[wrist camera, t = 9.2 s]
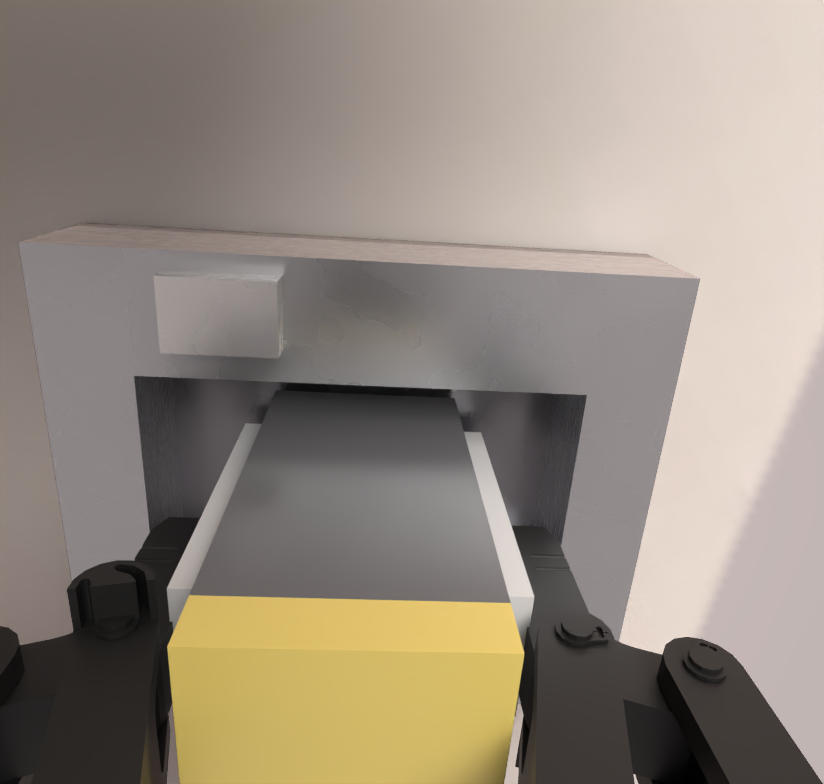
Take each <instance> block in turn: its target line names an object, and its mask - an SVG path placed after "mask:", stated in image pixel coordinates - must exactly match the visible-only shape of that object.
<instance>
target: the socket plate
mask: <svg viewBox="0 0 824 784" xmlns="http://www.w3.org/2000/svg"><path fill="white" fill-rule="evenodd" d="M18 245H19V251H20V258H21V264H22V270H23V277H24V283H25V289H26V295H27V302H28V308H29V314H30V321H31V327H32V333H33V340H34V346H35V352H36V359H37V365H38V371H39V377H40V384H41V390H42V396H43V403H44V409H45V415H46V422H47V428H48V434H49V441H50V447H51V453H52V459H53V466H54V472H55V478H56V485H57V491H58V497H59V504H60V510H61V516H62V523H63V529H64V535H65V541H66V548H67V554H68V560H69V567H70V573H71V579H72V581H73V579H75V578H76V577H77V576H79V575H80V574H81V573H83V572H84V571H85V570H87V569H90V568H92V567H94V566H97V565H99V564H102V563H107V562H111V561H116V560H133V561H135V557H136V555H137V553H138V552H139V550H140V549H142V545H143V543H144V542H145V540H146V538H147V536H148V535H149V533H150V531H151V530H152V529H153V528H155V527H156V526H157V525H159V524H160V523H161V522H163V521H164V520H165V519H167V518H168V517H187V518H201V516H202V514H203V511H204V509H205V507H206V505H207V503H208V501H209V499H210V497H211V495H212V493H213V490H214V488H215V486H216V484H217V482H218V480H219V478H220V476H221V474H222V472H223V469H224V467H225V465H226V463H227V461H228V459H229V457H230V455H231V453H232V451H233V448H234V446H235V444H236V442H237V440H238V438H239V436H240V434H241V432H242V430H243V428H244V425H245V423H252V424H262V422H263V420H264V417H265V415H266V413H267V410H268V408H269V406H270V403H271V401H272V399H273V396H274V394H275V392H276V390H278V391H301V392H324V393H347V394H370V395H393V396H416V397H439V398H455V401H456V405H457V409H458V412H459V416H460V419H461V423H462V427H463V430H464V432H481V434H482V437H483V440H484V443H485V446H486V449H487V452H488V455H489V458H490V462H491V465H492V468H493V471H494V474H495V477H496V480H497V483H498V486H499V489H500V492H501V495H502V498H503V502H504V505H505V508H506V511H507V514H508V517H509V520H510V523H511V526H543V527H544V528H545V529H547V530H548V531H549V532H550V533H551V534H552V535H553V536H554V537H555V538H556V539H557V540H558V541H559V543H560V546H561V548H562V550H563V553H564V555H565V558H566V560H567V562H568V564H569V567H570V571H572V574H573V576H574V578H575V581H576V583H577V586H578V588H579V590H580V593H581V595H582V597H583V600H584V602H585V604H586V607H587V609H588V611H589V613H590V614H592V615H594V616H595V617H597V618H599V619H600V620H602V621H603V622H604V623H605V624H606V625H607V626H608V627H609V628H610V629H611V631H612V634H613V636H614V639H615V640H616V641H618V642H619V638H620V634H621V629H622V625H623V620H624V616H625V611H626V607H627V602H628V598H629V594H630V589H631V585H632V580H633V576H634V571H635V567H636V562H637V558H638V553H639V549H640V545H641V540H642V536H643V531H644V527H645V522H646V518H647V513H648V509H649V504H650V500H651V496H652V491H653V487H654V482H655V478H656V473H657V469H658V464H659V460H660V455H661V451H662V447H663V442H664V438H665V433H666V429H667V424H668V420H669V415H670V411H671V406H672V402H673V398H674V393H675V389H676V384H677V380H678V375H679V371H680V366H681V362H682V357H683V353H684V349H685V344H686V340H687V335H688V331H689V326H690V322H691V317H692V313H693V308H694V304H695V300H696V295H697V291H698V286H699V282H700V278H697V277H695V276H693V275H691V274H689V273H687V272H684V271H682V270H680V269H678V268H676V267H673V266H671V265H669V264H667V263H665V262H663V261H660V260H658V259H656V258H654V257H652V256H649V255H647V254H631V253H613V252H595V251H577V250H559V249H541V248H523V247H505V246H487V245H469V244H451V243H433V242H415V241H398V240H380V239H362V238H344V237H326V236H308V235H290V234H272V233H254V232H236V231H218V230H200V229H182V228H164V227H146V226H129V225H111V224H93V223H81V224H77V225H74V226H71V227H67V228H64V229H61V230H57V231H54V232H50V233H47V234H44V235H40V236H37V237H34V238H30V239H27V240H23V241H20V242H18ZM518 704H521V702H520V698H519V697H518Z"/></svg>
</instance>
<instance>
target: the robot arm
mask: <svg viewBox="0 0 824 784" xmlns="http://www.w3.org/2000/svg"><path fill="white" fill-rule="evenodd" d="M261 425H262V424H252V423H245V425H244V428H243V430H242V432H241V434H240V436H239V438H238V440H237V442H236V444H235V446H234V448H233V451H232V453H231V455H230V457H229V459H228V461H227V463H226V465H225V467H224V469H223V472H222V474H221V476H220V478H219V480H218V482H217V484H216V486H215V488H214V490H213V493H212V495H211V497H210V499H209V501H208V503H207V505H206V507H205V509H204V511H203V514H202V516H201V518H187V517H168V518H167V519H165V520H164V521H163V522H161V523H160V524H159V525H157V526H156V527H155V528H153V529H152V530H151V531H150V533H149V535H148V536H147V538H146V540H145V542H144V543H143V545H142V549H140V550H139V552H138V553H137V555H136V557H135V561H133V560H116V561H111V562H107V563H102V564H99V565H97V566H94V567H92V568H90V569H87V570H85V571H84V572H83V573H81V574H80V575H79V576H77V577H76V578H75V579H73V581H72V583H71V584H70V586H69V587H68V589H67V592H68V599H69V605H70V611H71V617H72V623H73V629H74V631H73V633H71V634H68V635H65V636H62V637H58V638H55V639H50V640H45V641H40V642H35V643H30V644H26V645H21V646H20V645H19V640H18V636H17V634H16V633H15V632H13V631H12V630H11V629H9V628H6V627H1V626H0V784H167V770H168V756H169V742H170V726H169V716H168V713H169V710H170V707H171V704H172V693H171V682H170V671H169V661H168V650H167V646H168V644H169V641H170V639H171V637H172V634H173V632H174V630H175V627H176V625H177V623H178V620H179V618H180V615H181V613H182V611H183V608H184V606H185V604H186V601H187V599H188V597H189V594H190V592H191V590H192V587H193V585H194V582H195V580H196V578H197V575H198V573H199V571H200V568H201V566H202V564H203V561H204V559H205V557H206V554H207V552H208V549H209V547H210V545H211V542H212V540H213V538H214V535H215V533H216V531H217V528H218V526H219V524H220V521H221V519H222V516H223V514H224V512H225V509H226V507H227V505H228V502H229V500H230V498H231V495H232V493H233V491H234V488H235V486H236V483H237V481H238V479H239V476H240V474H241V472H242V469H243V467H244V465H245V462H246V460H247V458H248V455H249V453H250V450H251V448H252V446H253V443H254V441H255V439H256V436H257V434H258V432H259V429H260V427H261ZM464 434H465V438H466V441H467V445H468V449H469V452H470V456H471V460H472V463H473V467H474V471H475V474H476V478H477V482H478V485H479V489H480V493H481V496H482V500H483V504H484V507H485V511H486V515H487V518H488V522H489V526H490V529H491V533H492V536H493V540H494V544H495V547H496V551H497V555H498V558H499V562H500V566H501V569H502V573H503V577H504V580H505V584H506V588H507V591H508V595H509V599H510V602H511V606H512V610H513V613H514V617H515V621H516V624H517V628H518V632H519V635H520V639H521V643H522V646H523V650H524V653H525V654H524V661H523V667H522V673H521V679H520V686H519V692H518V697H519V698H520V702H521V706H522V710H523V714H524V717H523V723H522V729H521V735H520V741H519V747H518V753H517V759H516V765H515V767H519V776H518V784H634V776H633V774H636V778H637V781H638V783H639V784H823V783H822V782H821V781H820V779H819V778H818V776H817V775H816V773H815V772H814V770H813V769H812V767H811V766H810V764H809V763H808V761H807V760H806V758H805V757H804V756H803V754H802V753H801V751H800V750H799V748H798V747H797V745H796V744H795V742H794V741H793V739H792V738H791V736H790V735H789V734H788V732H787V731H786V729H785V728H784V726H783V725H782V723H781V722H780V720H779V719H778V717H777V716H776V714H775V713H774V712H773V710H772V709H771V707H770V706H769V704H768V703H767V701H766V700H765V698H764V697H763V695H762V694H761V693H760V691H759V689H758V688H757V687H756V685H755V684H754V682H753V681H752V679H751V678H750V676H749V675H748V674H747V672H746V670H745V669H744V668H743V666H742V665H741V664H740V663H739V662H738V661H737V659H736V658H734V656H733V655H732V654H730V653H729V652H727V651H726V650H724V649H723V648H721V647H720V646H718V645H715V644H713V643H710V642H708V641H705V640H702V639H697V638H691V637H683V638H677V639H673V640H672V641H670V642H669V643H667V644H666V646H665V649H664V652H663V655H661V654H657V653H653V652H649V651H645V650H641V649H637V648H634V647H631V646H628V645H625V644H622V643H620V642H618V641H616V640H615V639H614V636H613V634H612V631H611V629H610V628H609V627H608V626H607V625H606V624H605V623H604V622H603V621H602V620H600V619H599V618H597V617H595V616H594V615H592V614H590V613H589V611H588V609H587V607H586V604H585V602H584V600H583V597H582V595H581V593H580V590H579V588H578V586H577V583H576V581H575V578H574V576H573V574H572V571H570V567H569V564H568V562H567V560H566V558H565V555H564V553H563V550H562V548H561V546H560V543H559V541H558V540H557V539H556V538H555V537H554V536H553V535H552V534H551V533H550V532H549V531H548V530H547V529H545V528H544V527H543V526H511V523H510V520H509V517H508V514H507V511H506V508H505V505H504V502H503V498H502V495H501V492H500V489H499V486H498V483H497V480H496V477H495V474H494V471H493V468H492V465H491V462H490V458H489V455H488V452H487V449H486V446H485V443H484V440H483V437H482V434H481V432H464ZM517 704H518V698H517ZM517 704H516V710H517ZM515 716H516V711H515Z"/></svg>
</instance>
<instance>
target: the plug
mask: <svg viewBox="0 0 824 784" xmlns="http://www.w3.org/2000/svg"><path fill="white" fill-rule="evenodd" d="M167 650H168V661H169V671H170V682H171V693H172V704H173V715H174V726H175V737H176V747H177V758H178V769H179V780H180V784H504V779H505V773H506V767H507V761H508V754H509V748H510V742H511V736H512V729H513V723H514V717H515V711H516V704H517V698H518V692H519V686H520V679H521V673H522V667H523V661H524V654H525V653H524V650H523V646H522V643H521V639H520V635H519V632H518V628H517V624H516V621H515V617H514V613H513V610H512V606H511V602H510V599H509V595H508V591H507V588H506V584H505V580H504V577H503V573H502V569H501V566H500V562H499V558H498V555H497V551H496V547H495V544H494V540H493V536H492V533H491V529H490V526H489V522H488V518H487V515H486V511H485V507H484V504H483V500H482V496H481V493H480V489H479V485H478V482H477V478H476V474H475V471H474V467H473V463H472V460H471V456H470V452H469V449H468V445H467V441H466V438H465V434H464V430H463V427H462V423H461V419H460V416H459V412H458V409H457V405H456V401H455V398H439V397H416V396H393V395H370V394H347V393H324V392H301V391H278V390H276V392H275V394H274V396H273V399H272V401H271V403H270V406H269V408H268V410H267V413H266V415H265V417H264V420H263V422H262V425H261V427H260V429H259V432H258V434H257V436H256V439H255V441H254V443H253V446H252V448H251V450H250V453H249V455H248V458H247V460H246V462H245V465H244V467H243V469H242V472H241V474H240V476H239V479H238V481H237V483H236V486H235V488H234V491H233V493H232V495H231V498H230V500H229V502H228V505H227V507H226V509H225V512H224V514H223V516H222V519H221V521H220V524H219V526H218V528H217V531H216V533H215V535H214V538H213V540H212V542H211V545H210V547H209V549H208V552H207V554H206V557H205V559H204V561H203V564H202V566H201V568H200V571H199V573H198V575H197V578H196V580H195V582H194V585H193V587H192V590H191V592H190V594H189V597H188V599H187V601H186V604H185V606H184V608H183V611H182V613H181V615H180V618H179V620H178V623H177V625H176V627H175V630H174V632H173V634H172V637H171V639H170V641H169V644H168V646H167Z"/></svg>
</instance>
